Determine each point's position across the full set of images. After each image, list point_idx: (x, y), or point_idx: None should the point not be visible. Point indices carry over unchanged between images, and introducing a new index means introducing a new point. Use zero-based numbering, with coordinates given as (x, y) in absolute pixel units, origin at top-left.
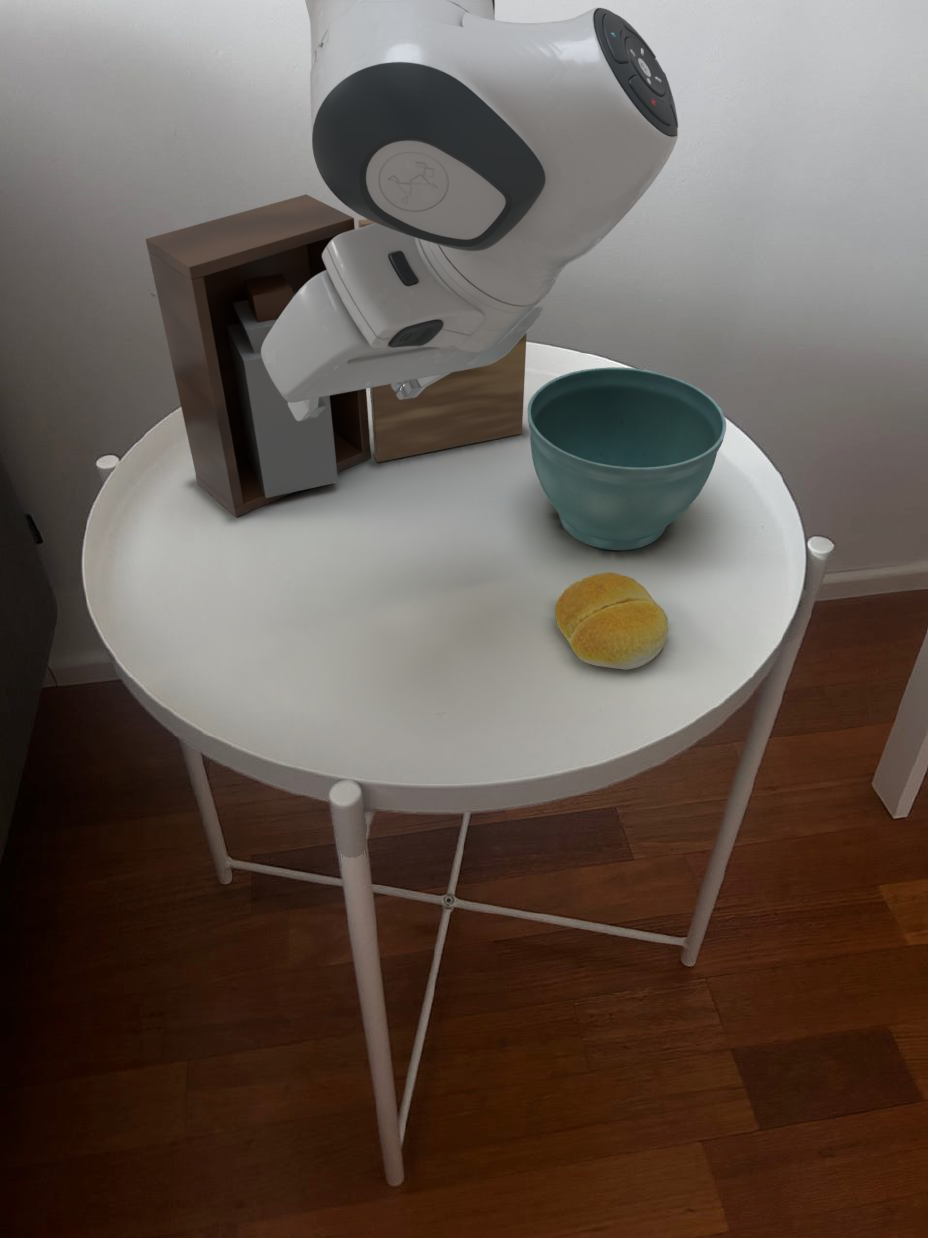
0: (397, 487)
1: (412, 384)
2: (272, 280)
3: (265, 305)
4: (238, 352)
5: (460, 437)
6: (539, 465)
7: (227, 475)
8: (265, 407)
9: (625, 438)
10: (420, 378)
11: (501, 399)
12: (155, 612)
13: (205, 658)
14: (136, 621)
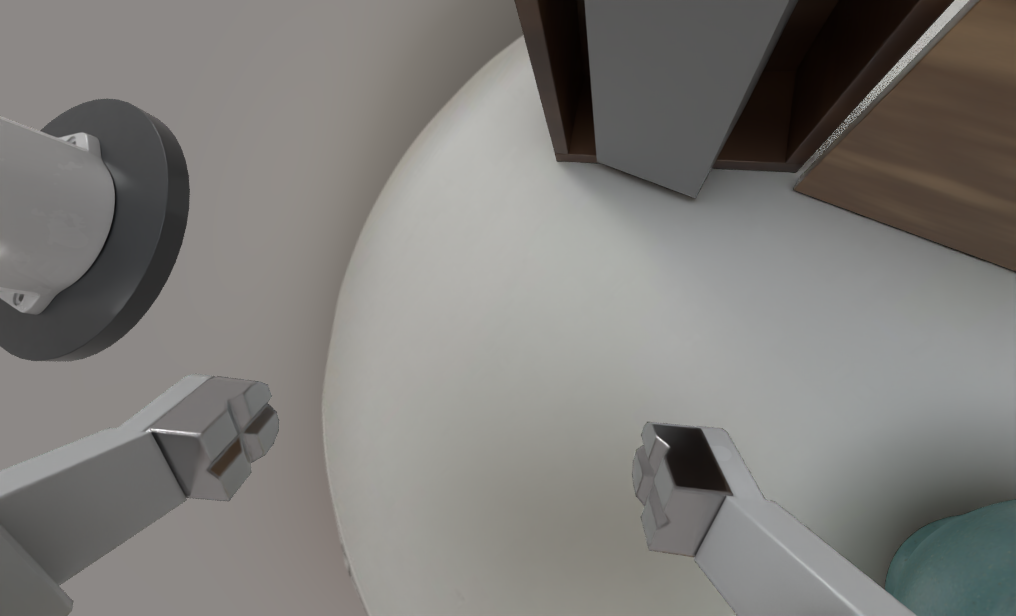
0: (765, 257)
1: (665, 541)
2: None
3: None
4: None
5: (971, 244)
6: (945, 602)
7: (546, 121)
8: (612, 65)
9: None
10: (716, 556)
11: None
12: (398, 235)
13: (382, 326)
14: (380, 233)
